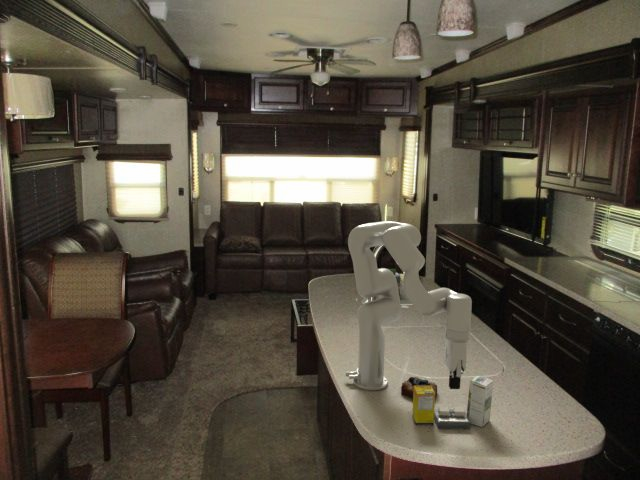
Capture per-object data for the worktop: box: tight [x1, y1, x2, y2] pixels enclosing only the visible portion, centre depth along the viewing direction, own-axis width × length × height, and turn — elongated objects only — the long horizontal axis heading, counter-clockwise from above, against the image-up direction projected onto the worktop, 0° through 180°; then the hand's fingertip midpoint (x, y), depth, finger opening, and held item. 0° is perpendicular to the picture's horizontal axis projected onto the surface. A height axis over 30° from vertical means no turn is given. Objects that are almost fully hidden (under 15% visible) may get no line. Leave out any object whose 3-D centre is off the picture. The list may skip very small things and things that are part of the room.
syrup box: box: [466, 375, 494, 428], centre depth 178 cm, size 6×6×14 cm
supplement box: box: [411, 386, 436, 426], centre depth 178 cm, size 6×6×11 cm
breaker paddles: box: [437, 406, 466, 416], centre depth 178 cm, size 8×2×2 cm, turn 89°
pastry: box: [400, 376, 438, 400], centre depth 197 cm, size 11×12×6 cm
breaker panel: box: [434, 408, 471, 430], centre depth 178 cm, size 10×8×3 cm
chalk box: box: [388, 268, 401, 297], centre depth 317 cm, size 9×9×15 cm
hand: (454, 387), depth 176 cm, fingers closed
